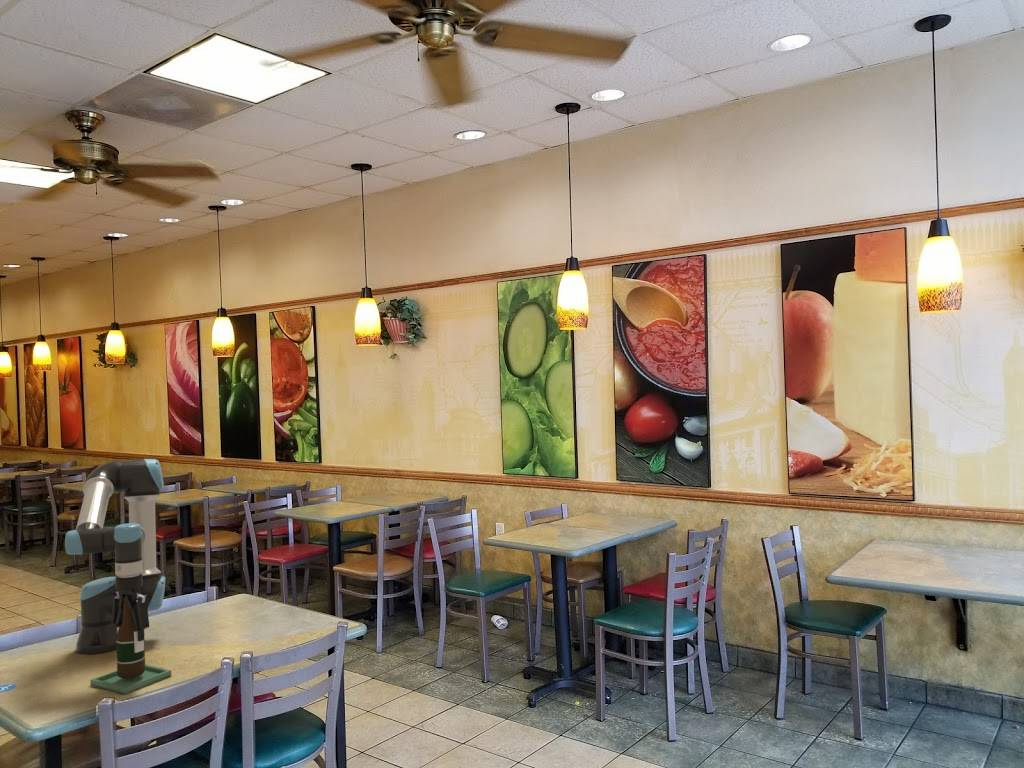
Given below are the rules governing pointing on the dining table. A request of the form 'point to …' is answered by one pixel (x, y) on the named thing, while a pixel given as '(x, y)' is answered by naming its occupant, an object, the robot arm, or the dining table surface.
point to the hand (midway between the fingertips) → (130, 649)
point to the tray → (130, 680)
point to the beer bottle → (128, 648)
